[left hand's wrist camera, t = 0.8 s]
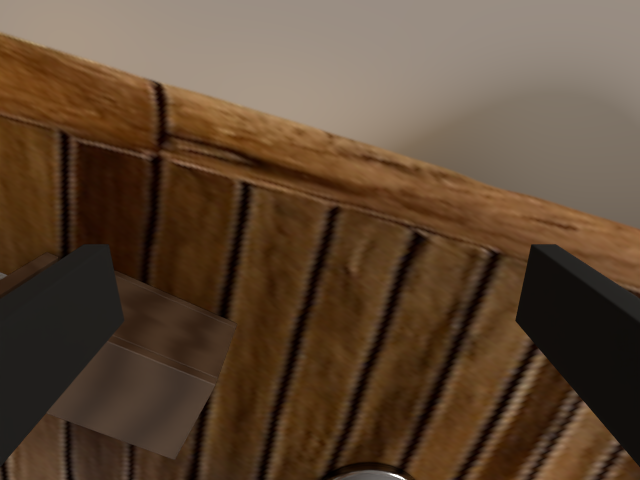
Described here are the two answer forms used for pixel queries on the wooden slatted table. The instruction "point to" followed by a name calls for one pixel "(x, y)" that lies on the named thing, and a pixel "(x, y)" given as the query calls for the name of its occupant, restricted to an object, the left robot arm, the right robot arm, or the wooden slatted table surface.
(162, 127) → the wooden slatted table surface
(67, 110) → the wooden slatted table surface
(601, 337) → the left robot arm
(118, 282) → the cabinet
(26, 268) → the drawer
